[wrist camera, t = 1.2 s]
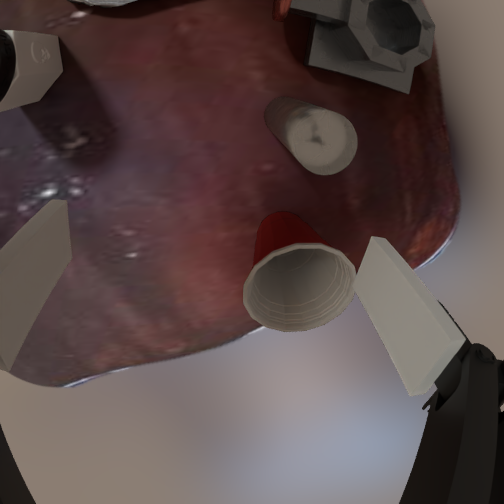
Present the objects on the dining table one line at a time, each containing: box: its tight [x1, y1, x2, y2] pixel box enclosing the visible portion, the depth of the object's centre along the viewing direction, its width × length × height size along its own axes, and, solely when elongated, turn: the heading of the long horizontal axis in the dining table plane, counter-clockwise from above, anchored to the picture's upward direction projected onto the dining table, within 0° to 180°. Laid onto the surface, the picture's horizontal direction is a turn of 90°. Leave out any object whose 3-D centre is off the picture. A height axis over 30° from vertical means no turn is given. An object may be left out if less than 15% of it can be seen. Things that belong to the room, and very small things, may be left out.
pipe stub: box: [264, 96, 357, 175], centre depth 26 cm, size 4×4×14 cm
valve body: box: [272, 0, 435, 94], centre depth 23 cm, size 12×16×7 cm
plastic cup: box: [243, 212, 356, 332], centre depth 34 cm, size 11×11×12 cm
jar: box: [0, 29, 63, 112], centre depth 19 cm, size 9×8×12 cm
